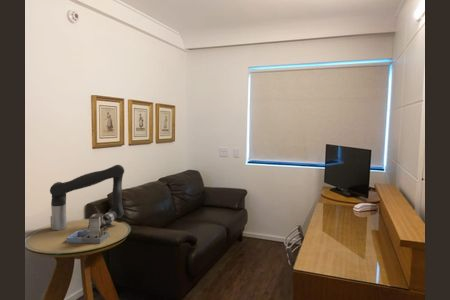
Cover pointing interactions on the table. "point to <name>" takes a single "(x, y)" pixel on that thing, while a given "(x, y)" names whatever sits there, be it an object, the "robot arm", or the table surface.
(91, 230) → the coffee box
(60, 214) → the robot arm
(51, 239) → the table surface
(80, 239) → the divided tray
